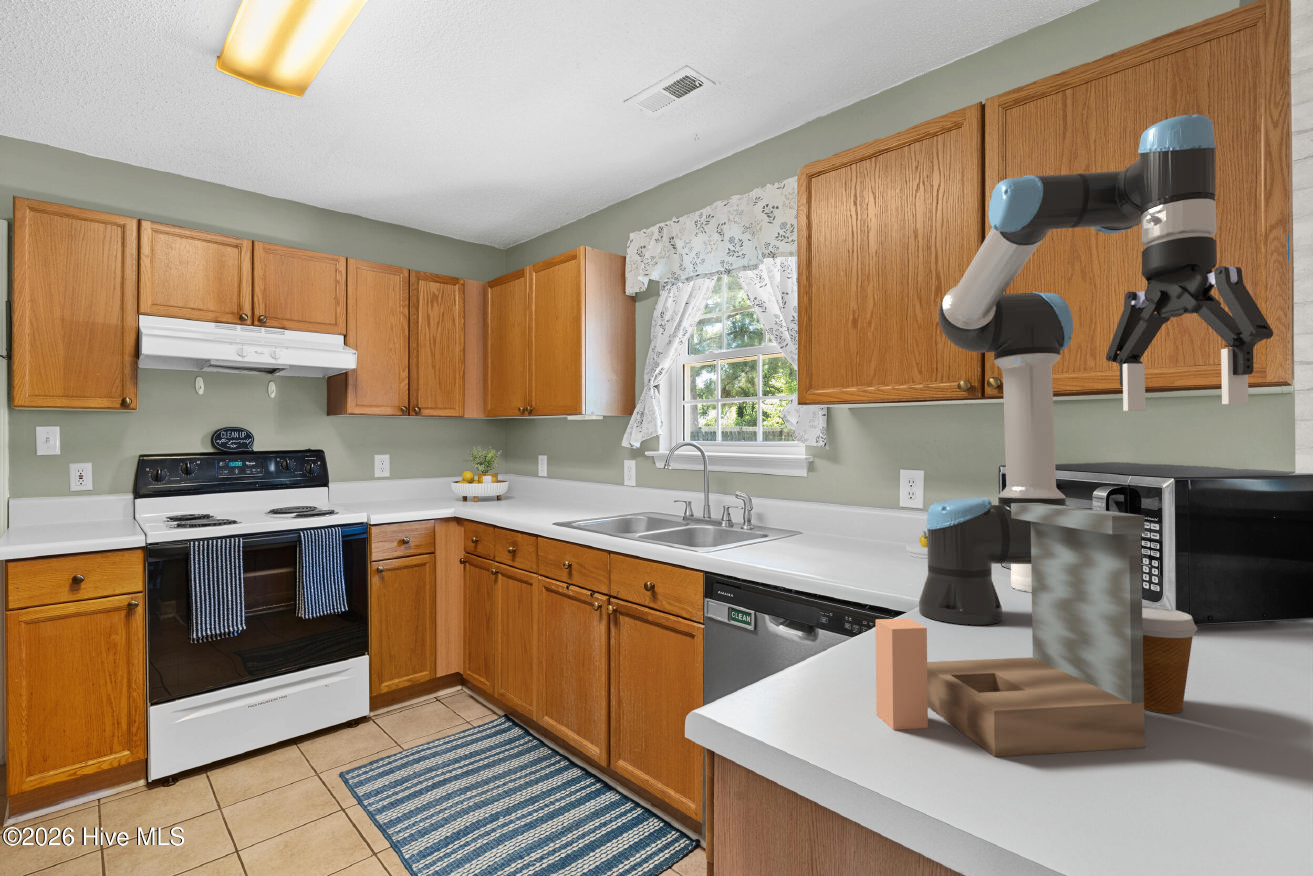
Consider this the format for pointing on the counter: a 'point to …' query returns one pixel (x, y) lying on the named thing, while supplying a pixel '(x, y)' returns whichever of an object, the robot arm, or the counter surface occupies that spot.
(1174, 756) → the counter surface
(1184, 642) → the disposable coffee cup
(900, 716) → the peg
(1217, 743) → the counter surface
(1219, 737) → the counter surface
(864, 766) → the counter surface
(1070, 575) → the socket stand
